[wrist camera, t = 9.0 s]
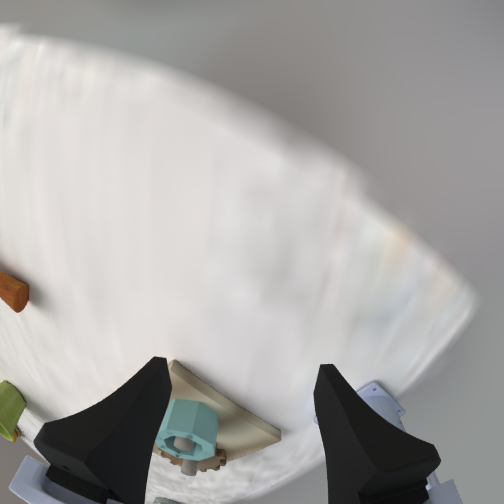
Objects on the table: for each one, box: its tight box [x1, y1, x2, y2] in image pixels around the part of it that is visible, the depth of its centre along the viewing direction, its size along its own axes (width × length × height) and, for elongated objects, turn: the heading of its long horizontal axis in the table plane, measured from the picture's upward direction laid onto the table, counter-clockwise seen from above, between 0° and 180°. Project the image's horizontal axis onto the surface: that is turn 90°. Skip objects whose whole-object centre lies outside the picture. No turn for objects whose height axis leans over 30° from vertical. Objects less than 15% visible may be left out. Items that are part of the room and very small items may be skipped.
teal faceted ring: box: [155, 398, 218, 461], centre depth 22 cm, size 6×6×4 cm
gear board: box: [152, 360, 281, 476], centre depth 24 cm, size 15×16×6 cm
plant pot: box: [0, 381, 26, 441], centre depth 25 cm, size 9×9×9 cm
